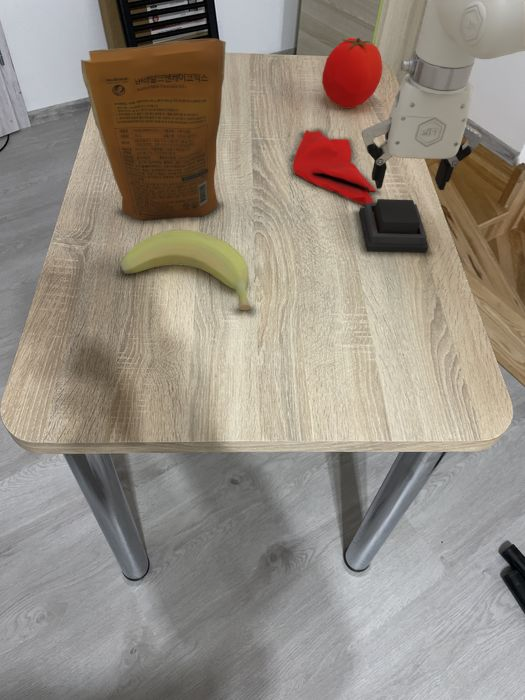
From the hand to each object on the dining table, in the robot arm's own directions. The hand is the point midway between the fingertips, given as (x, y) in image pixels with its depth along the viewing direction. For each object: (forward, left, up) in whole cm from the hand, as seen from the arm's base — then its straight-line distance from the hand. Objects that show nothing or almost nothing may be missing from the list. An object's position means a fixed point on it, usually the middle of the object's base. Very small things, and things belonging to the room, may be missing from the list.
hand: (408, 184), depth 83 cm
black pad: (0, 0, -9) cm, 9 cm away
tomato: (-12, -42, -10) cm, 44 cm away
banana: (+35, +1, -10) cm, 36 cm away
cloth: (+3, -21, -10) cm, 23 cm away
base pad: (0, 0, -10) cm, 10 cm away
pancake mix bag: (+34, -17, -10) cm, 39 cm away
